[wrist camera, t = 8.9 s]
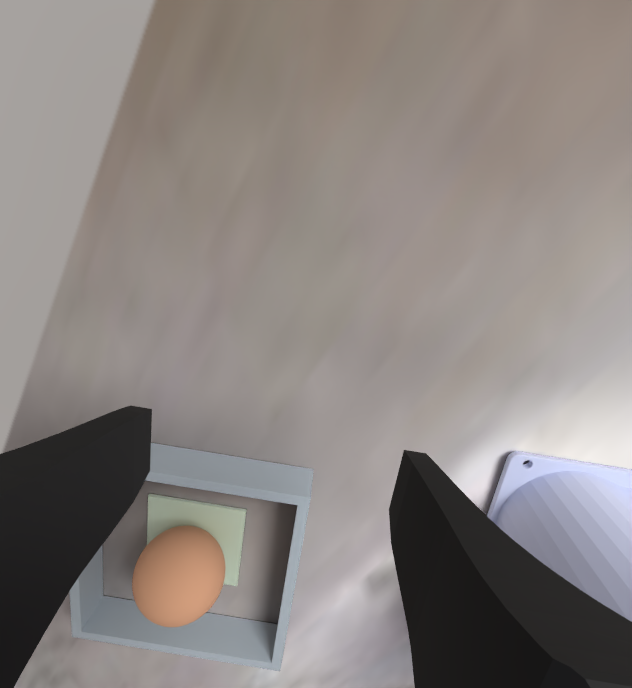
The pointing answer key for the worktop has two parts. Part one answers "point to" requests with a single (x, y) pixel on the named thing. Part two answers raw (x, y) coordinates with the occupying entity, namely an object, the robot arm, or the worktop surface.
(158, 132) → the worktop surface
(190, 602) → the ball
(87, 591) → the grey shallow square tray
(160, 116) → the worktop surface
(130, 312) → the worktop surface
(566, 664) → the robot arm
